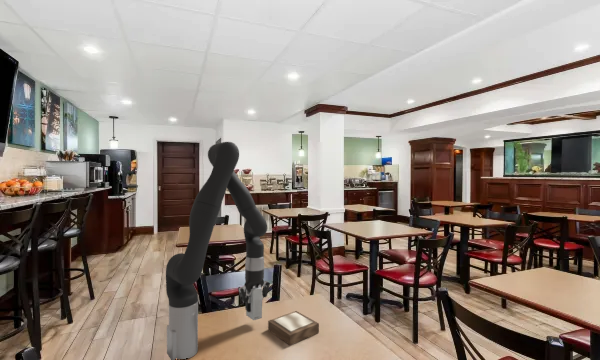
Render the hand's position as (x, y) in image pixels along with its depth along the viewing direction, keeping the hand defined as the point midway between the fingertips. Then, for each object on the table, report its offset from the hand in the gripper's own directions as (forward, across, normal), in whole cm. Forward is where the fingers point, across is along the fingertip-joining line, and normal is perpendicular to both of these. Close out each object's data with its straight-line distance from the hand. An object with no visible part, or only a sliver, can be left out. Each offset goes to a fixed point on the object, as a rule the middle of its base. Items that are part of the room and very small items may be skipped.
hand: (253, 309), depth 124 cm
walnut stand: (+6, +10, -14) cm, 18 cm away
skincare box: (+3, 0, 0) cm, 3 cm away
